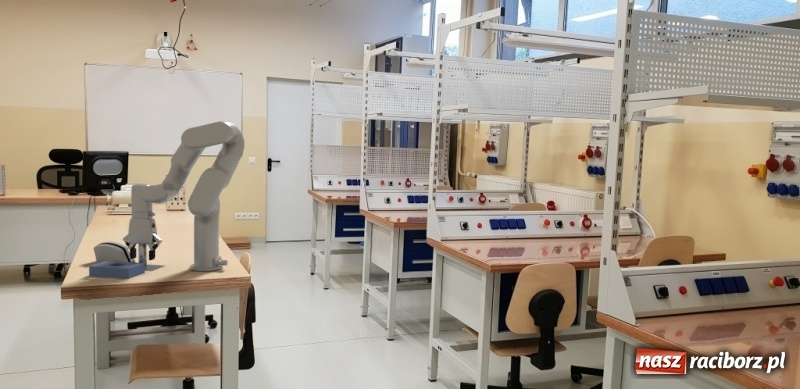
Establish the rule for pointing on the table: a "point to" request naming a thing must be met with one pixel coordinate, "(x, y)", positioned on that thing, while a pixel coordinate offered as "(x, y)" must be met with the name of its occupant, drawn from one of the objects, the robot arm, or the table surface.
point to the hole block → (117, 269)
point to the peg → (142, 253)
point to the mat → (153, 267)
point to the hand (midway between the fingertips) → (142, 258)
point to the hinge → (112, 252)
